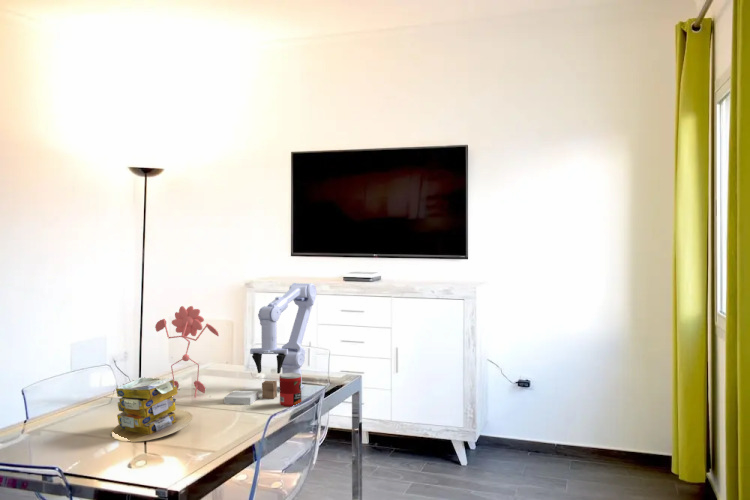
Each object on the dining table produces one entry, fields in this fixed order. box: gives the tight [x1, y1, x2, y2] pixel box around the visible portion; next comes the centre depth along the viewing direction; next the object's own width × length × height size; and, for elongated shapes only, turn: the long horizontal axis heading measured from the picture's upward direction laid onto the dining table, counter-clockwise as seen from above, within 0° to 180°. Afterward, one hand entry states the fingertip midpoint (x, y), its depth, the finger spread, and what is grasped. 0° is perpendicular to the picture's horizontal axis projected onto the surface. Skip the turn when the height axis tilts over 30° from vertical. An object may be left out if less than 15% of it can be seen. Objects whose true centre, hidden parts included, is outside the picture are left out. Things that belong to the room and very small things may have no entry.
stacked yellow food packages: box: [111, 376, 194, 443], centre depth 206 cm, size 25×25×17 cm
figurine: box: [154, 305, 220, 398], centre depth 256 cm, size 15×26×35 cm, turn 87°
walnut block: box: [261, 380, 278, 400], centre depth 248 cm, size 4×4×6 cm
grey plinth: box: [223, 390, 260, 405], centre depth 243 cm, size 10×10×2 cm
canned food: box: [279, 373, 302, 408], centre depth 236 cm, size 8×8×11 cm
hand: (269, 372), depth 247 cm, fingers open, 7 cm apart
